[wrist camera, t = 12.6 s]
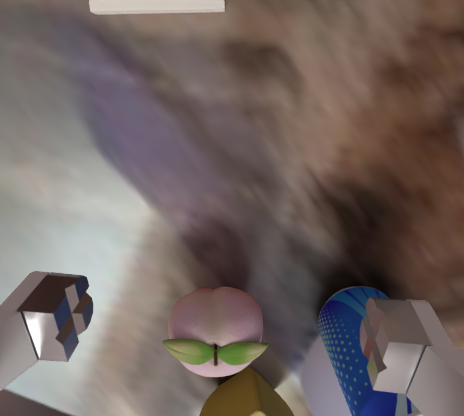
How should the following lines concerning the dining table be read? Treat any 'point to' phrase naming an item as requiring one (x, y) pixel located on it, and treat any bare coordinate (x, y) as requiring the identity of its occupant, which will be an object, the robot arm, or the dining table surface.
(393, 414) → the beer can
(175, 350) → the decorative fruit
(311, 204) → the dining table surface
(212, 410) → the flower pot
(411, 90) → the dining table surface
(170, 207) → the dining table surface
